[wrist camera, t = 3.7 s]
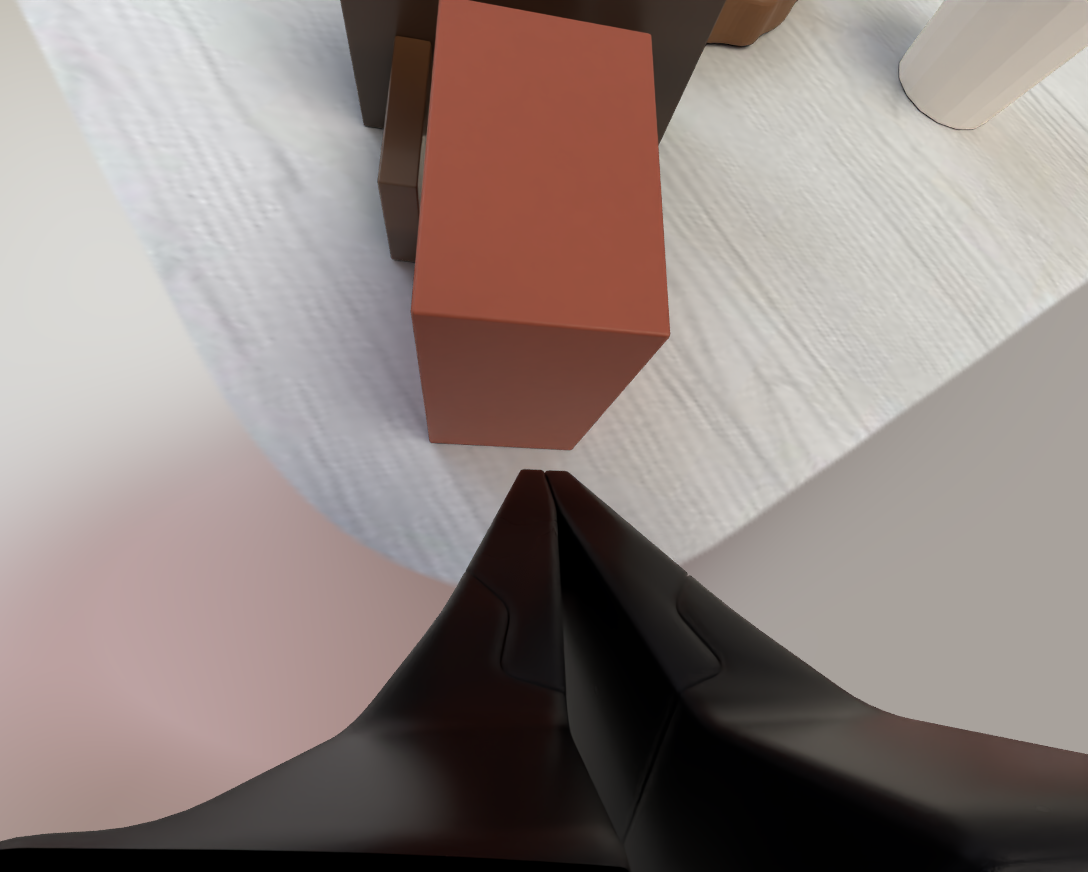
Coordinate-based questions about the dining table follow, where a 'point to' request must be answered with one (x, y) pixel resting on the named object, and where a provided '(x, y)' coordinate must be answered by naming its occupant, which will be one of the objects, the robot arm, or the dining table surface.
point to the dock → (407, 63)
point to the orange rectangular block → (536, 226)
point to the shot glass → (989, 55)
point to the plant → (748, 20)
